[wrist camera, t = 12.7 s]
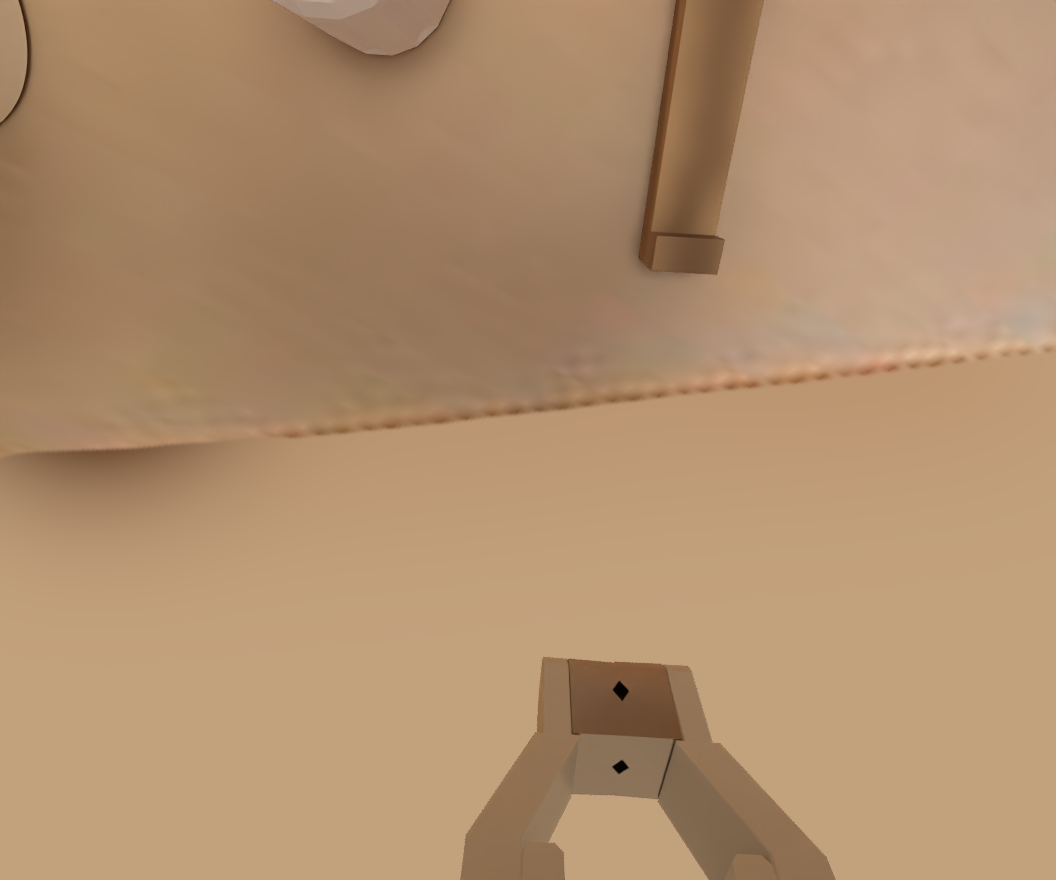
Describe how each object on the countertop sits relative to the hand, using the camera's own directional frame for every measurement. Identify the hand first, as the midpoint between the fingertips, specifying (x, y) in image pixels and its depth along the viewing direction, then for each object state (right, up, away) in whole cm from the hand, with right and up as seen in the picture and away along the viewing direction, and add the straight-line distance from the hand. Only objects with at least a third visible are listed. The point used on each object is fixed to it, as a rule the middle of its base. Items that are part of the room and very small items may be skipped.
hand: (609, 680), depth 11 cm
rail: (+9, +27, +21) cm, 35 cm away
